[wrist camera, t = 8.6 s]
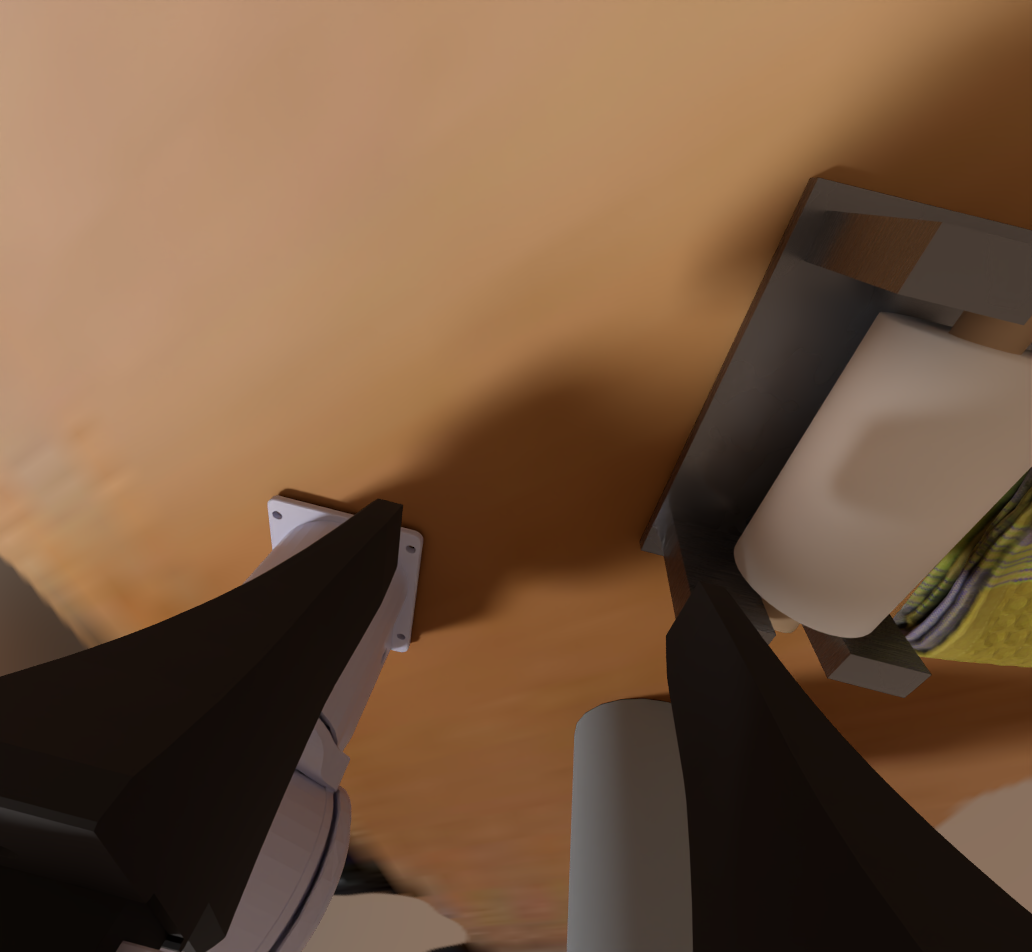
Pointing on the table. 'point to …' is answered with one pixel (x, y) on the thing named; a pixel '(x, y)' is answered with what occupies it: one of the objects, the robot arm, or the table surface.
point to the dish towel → (980, 591)
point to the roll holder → (823, 382)
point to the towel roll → (892, 471)
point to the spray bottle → (629, 833)
